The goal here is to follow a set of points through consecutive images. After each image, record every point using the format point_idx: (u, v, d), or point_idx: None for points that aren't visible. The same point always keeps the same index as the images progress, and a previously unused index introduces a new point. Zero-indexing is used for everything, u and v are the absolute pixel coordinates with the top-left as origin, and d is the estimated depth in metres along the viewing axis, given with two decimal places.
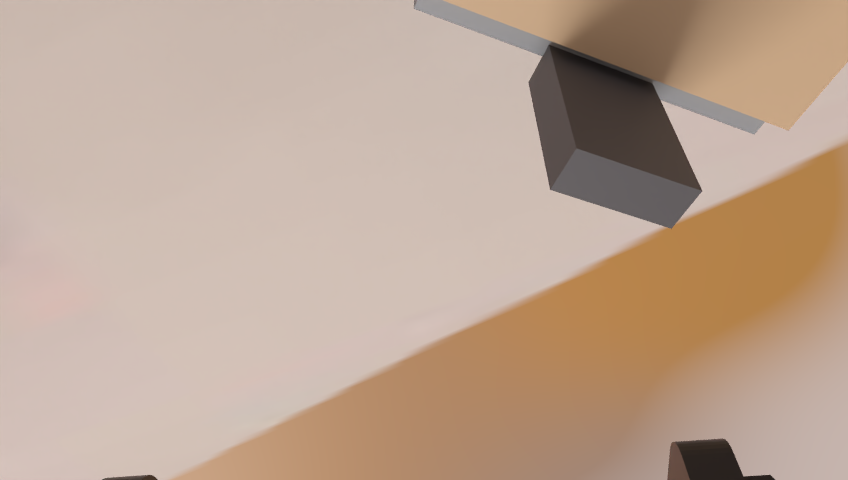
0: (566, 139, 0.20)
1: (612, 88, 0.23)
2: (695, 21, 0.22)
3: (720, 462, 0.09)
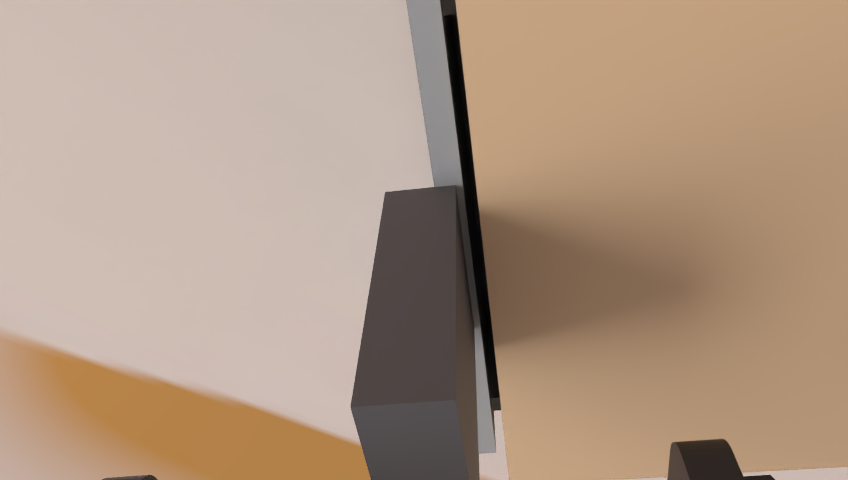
0: (435, 358, 0.11)
1: (466, 308, 0.15)
2: (591, 329, 0.16)
3: (720, 462, 0.09)
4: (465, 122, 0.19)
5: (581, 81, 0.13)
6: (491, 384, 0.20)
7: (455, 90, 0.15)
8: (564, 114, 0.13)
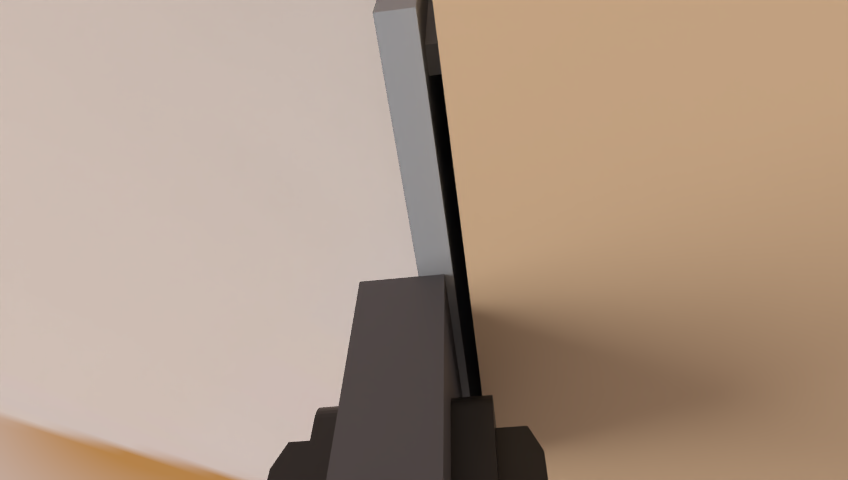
0: None
1: None
2: (605, 438, 0.13)
3: (479, 413, 0.11)
4: None
5: (598, 163, 0.10)
6: None
7: (444, 156, 0.13)
8: (577, 201, 0.10)
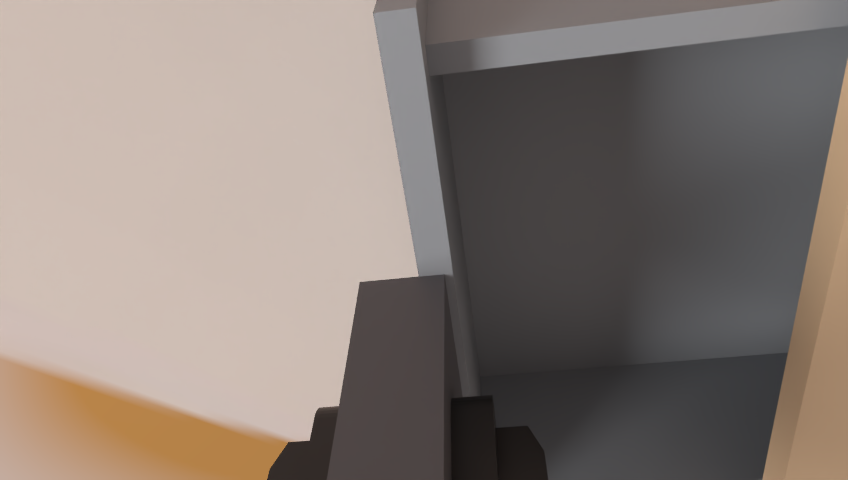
0: None
1: None
2: None
3: (479, 413, 0.11)
4: (456, 180, 0.17)
5: None
6: None
7: (444, 157, 0.13)
8: None
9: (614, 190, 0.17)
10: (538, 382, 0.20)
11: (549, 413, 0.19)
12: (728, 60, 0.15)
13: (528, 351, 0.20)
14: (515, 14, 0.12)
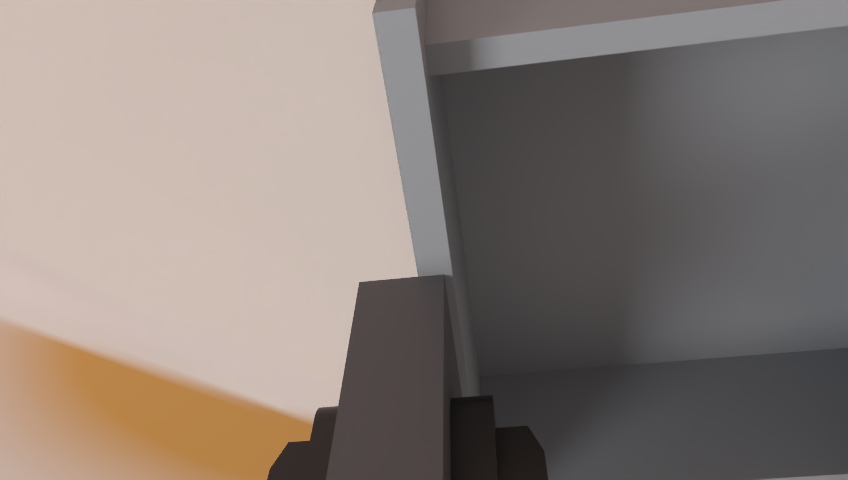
0: None
1: None
2: None
3: (479, 413, 0.11)
4: (456, 180, 0.17)
5: None
6: None
7: (443, 157, 0.13)
8: None
9: (613, 190, 0.17)
10: (538, 382, 0.20)
11: (549, 413, 0.19)
12: (728, 60, 0.15)
13: (528, 351, 0.20)
14: (514, 14, 0.12)
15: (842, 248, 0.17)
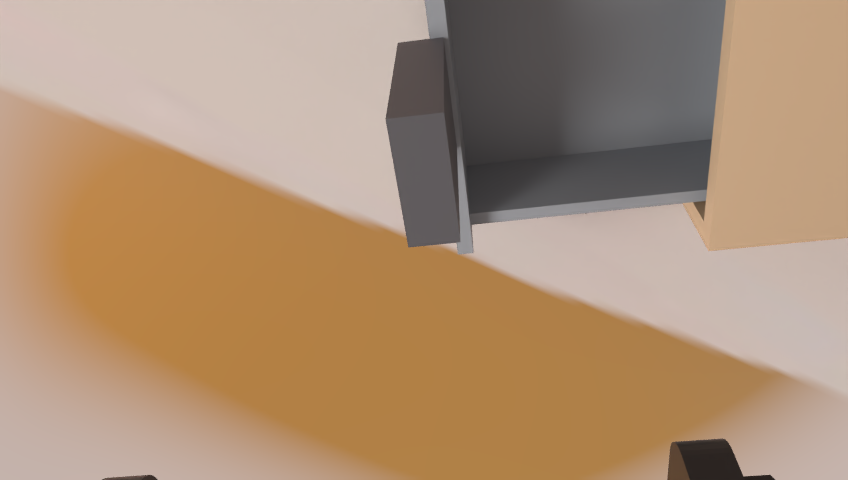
0: (432, 100, 0.19)
1: (451, 115, 0.23)
2: (792, 109, 0.23)
3: (720, 462, 0.09)
4: (450, 18, 0.27)
5: None
6: (470, 207, 0.28)
7: None
8: None
9: (547, 24, 0.27)
10: (504, 166, 0.30)
11: (510, 179, 0.29)
12: None
13: (497, 145, 0.30)
14: None
15: (690, 64, 0.28)
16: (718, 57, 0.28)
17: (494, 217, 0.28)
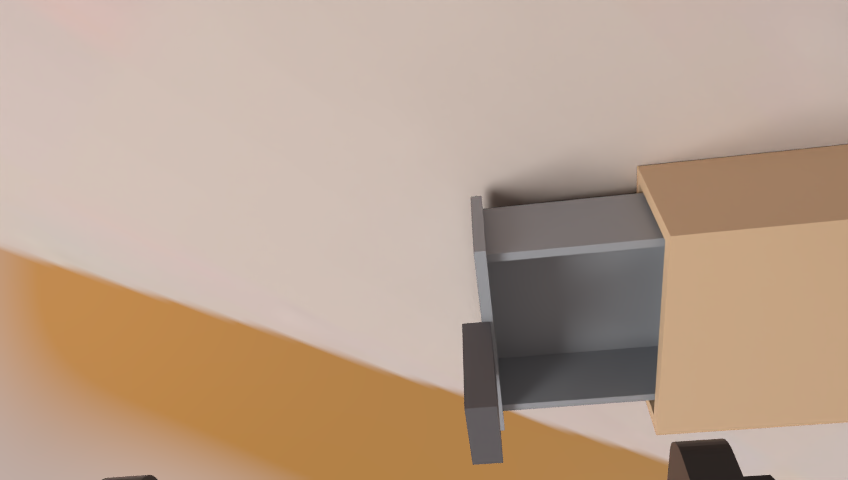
0: (489, 393, 0.33)
1: None
2: (703, 364, 0.38)
3: (720, 462, 0.09)
4: (490, 279, 0.42)
5: (710, 277, 0.35)
6: (502, 398, 0.43)
7: None
8: (702, 287, 0.35)
9: (553, 283, 0.42)
10: (523, 360, 0.45)
11: (528, 373, 0.44)
12: None
13: (519, 347, 0.45)
14: (513, 241, 0.37)
15: (647, 305, 0.43)
16: None
17: (518, 407, 0.42)
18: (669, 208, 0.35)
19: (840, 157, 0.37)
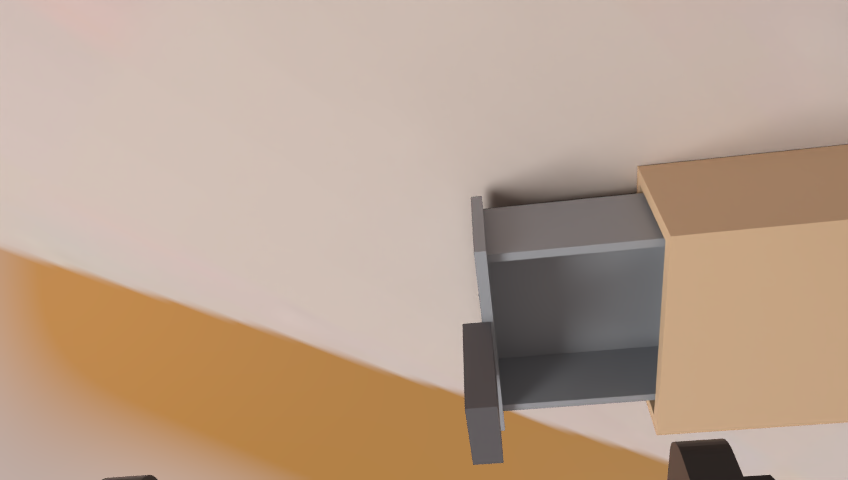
0: (489, 393, 0.33)
1: (495, 370, 0.37)
2: (703, 364, 0.38)
3: (720, 462, 0.09)
4: (490, 279, 0.42)
5: (710, 277, 0.35)
6: (502, 398, 0.43)
7: None
8: (703, 287, 0.35)
9: (553, 283, 0.42)
10: (524, 361, 0.45)
11: (528, 373, 0.44)
12: None
13: (519, 347, 0.45)
14: (513, 241, 0.37)
15: (647, 305, 0.43)
16: None
17: (518, 407, 0.42)
18: (669, 208, 0.35)
19: (840, 157, 0.37)
